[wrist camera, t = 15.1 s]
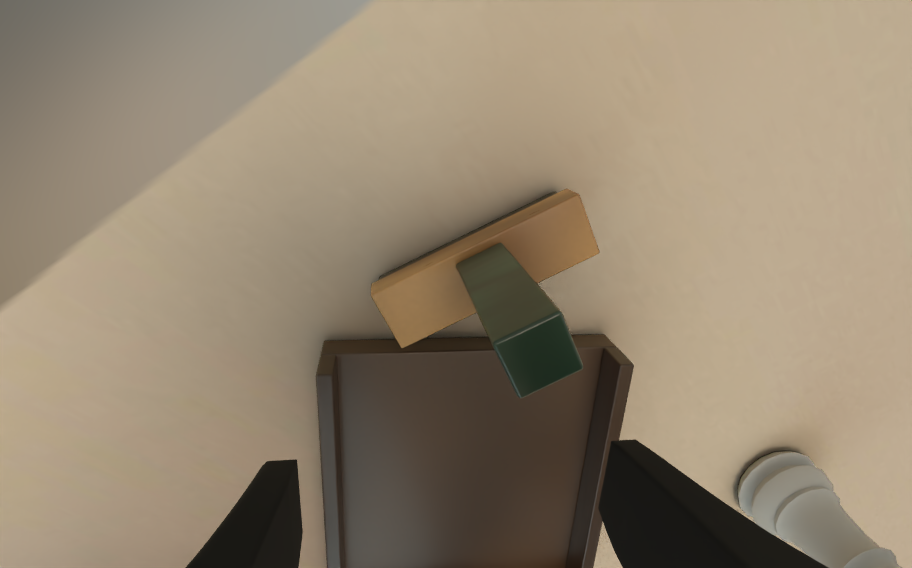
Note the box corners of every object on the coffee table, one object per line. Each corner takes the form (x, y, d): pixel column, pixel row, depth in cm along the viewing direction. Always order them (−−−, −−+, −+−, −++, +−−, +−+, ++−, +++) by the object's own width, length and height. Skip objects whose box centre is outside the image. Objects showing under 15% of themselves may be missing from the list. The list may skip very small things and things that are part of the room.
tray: (336, 590, 24) (331, 646, 22) (323, 340, 19) (315, 375, 17) (564, 567, 26) (583, 616, 24) (604, 333, 21) (634, 364, 19)
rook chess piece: (817, 484, 27) (984, 630, 19) (745, 524, 27) (883, 684, 20) (797, 431, 25) (971, 569, 18) (721, 475, 25) (861, 629, 18)
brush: (399, 323, 20) (412, 463, 12) (371, 274, 19) (365, 392, 11) (577, 237, 20) (703, 324, 12) (557, 183, 19) (680, 240, 11)
